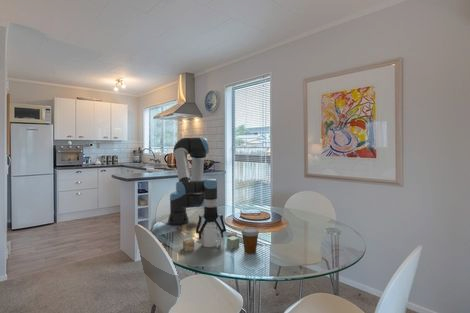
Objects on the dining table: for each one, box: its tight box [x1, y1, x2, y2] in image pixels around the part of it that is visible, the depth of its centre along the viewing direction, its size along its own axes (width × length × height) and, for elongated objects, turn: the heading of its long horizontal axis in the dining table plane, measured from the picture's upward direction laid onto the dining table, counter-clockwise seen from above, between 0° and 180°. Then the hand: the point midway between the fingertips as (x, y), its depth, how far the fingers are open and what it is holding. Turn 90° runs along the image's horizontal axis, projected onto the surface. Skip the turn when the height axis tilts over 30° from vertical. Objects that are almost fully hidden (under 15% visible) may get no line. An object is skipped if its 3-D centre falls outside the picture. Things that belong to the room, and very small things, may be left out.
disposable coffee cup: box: [241, 226, 260, 255], centre depth 147 cm, size 10×10×12 cm
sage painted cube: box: [226, 236, 240, 250], centre depth 154 cm, size 5×5×5 cm
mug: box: [202, 224, 223, 248], centre depth 156 cm, size 9×12×11 cm
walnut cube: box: [227, 231, 238, 238], centre depth 161 cm, size 5×5×5 cm
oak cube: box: [182, 237, 195, 252], centre depth 151 cm, size 5×5×5 cm
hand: (211, 244), depth 156 cm, fingers closed on mug, 10 cm apart
